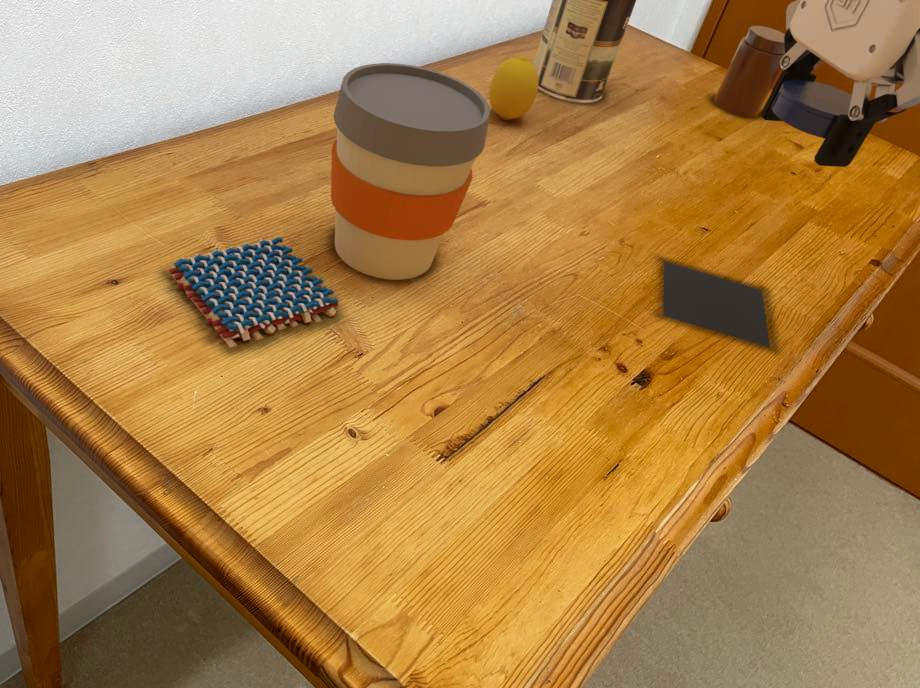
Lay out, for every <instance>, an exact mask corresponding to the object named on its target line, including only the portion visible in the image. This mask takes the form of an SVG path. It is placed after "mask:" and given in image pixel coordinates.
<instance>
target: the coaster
mask: <svg viewBox="0 0 920 688" xmlns="http://www.w3.org/2000/svg"><path fill="white" fill-rule="evenodd" d="M662 306H663V307H662V315H663V317H666V318H669V319H673V320H674V321H675V320H676V321H679V322H682V323H685V324H688V325H693V326H695V327H699V328H702V329H705V330H708V331H712V332H715V333H719V334H721V335H725V336H729V337H732V338H736V339H739V340H742V341H745V342H748V343H752V344H754V345H755V344H756V345H759V346H762V347H765V348H768V349H769V348H770V349H771V344H770V337H769V330H768V322H767V316H766V309H765V308H766V307H765V303H764V293H763V290H762V289H760V288H756V287H753V286H750V285H746V284H744V283H740V282H737V281H733V280H730V279H727V278H723V277H720V276H716V275H713V274H710V273H706V272H702V271H699V270H696V269H692V268H690V267H686V266H682V265H679V264H675V263H672V262H669V261H666V260H665V261H663V304H662Z"/></svg>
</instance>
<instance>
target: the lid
mask: <svg viewBox="0 0 920 688" xmlns="http://www.w3.org/2000/svg"><path fill="white" fill-rule="evenodd" d="M851 96H852V94H850V93H848V92H846V91H844V90H842V89H840V88H837V87H835V86H831V85H829V84H826V83H823V82H819V81H816V80H815V81H810V80H803V79H791V80H787V81H785V82H784V83H783V84H782V86H781V88H780V90H779V92H778V94H777V96H776V98H775V100H774V102H773V104H772V106H771V108H772V111H773V113H774V114H775V115H776V116H777V117H778V118H779V119H781V120H782V121H781V122H784V123H785V124H786V125H788V126H790V127H792V128H794V129H796V130H798V131H801V132H803V133H805V134H808V135H811V136H814V137H817V138H822V139H825V138H826V136H827V134H828V133H829V131H830V129H831V127H832V126H833V124H834V122H835V120H836V119H837V117H838V116H839V115H840V114H844V115H848V111H849V106H850V101H851Z"/></svg>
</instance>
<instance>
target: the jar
mask: <svg viewBox="0 0 920 688" xmlns="http://www.w3.org/2000/svg"><path fill="white" fill-rule="evenodd" d="M747 30H748V32H747V33H746V36H743V37H742V38H741V39H740V41H739V44H738V46H737V48H736V50H735V53H734V55H733V57H732V59H731V61H730V64H729V66H728V67H727V70H726V72H725V75H724V76H723V78H722V81H721V83H720V86H719V87H718V89H717V92H716V94H715V96H714V98H713V103H714V104H715V106H717V107H718V108H720V109H721V110H722V111H725V112H726V113H729V114H731V115H735V116H738V117H741V118H750V119H751V118H756V117H757V116H759V114H760V113H761V111H762V109H763V107H764V106H763V105H765V103H766V101H767V99H768V97H769V95H770V93H771V91H772V88H773V87H774V85H775V83H776V81H777V79H778V77H779V75H780V74H779V73H781V70H782V69H781V67H780V61H781V59H782V57H783V56H784V55H785V47H784V36H785V34H786V33H784V32H782V31H781V30H780V31H779V30H778V29H775V28H771V27H768V26H763V25H752V26H750V27H748V29H747Z"/></svg>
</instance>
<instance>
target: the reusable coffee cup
mask: <svg viewBox="0 0 920 688" xmlns="http://www.w3.org/2000/svg"><path fill="white" fill-rule="evenodd" d="M339 88H340V89H339V92H338V97H337V101H336V104H335V108H334V113H333V120H334V124H335V126H336V139H335V140H334V142H333V143H332V147H331V163H330V164H331V167H330V168H331V169H330V171H331V172H330V199H331V204H332V206H333V208H334V209H335V210H334V211H335V212H334V213H335V215H334V249H335V251H336V253H337V255H338V256H339V258H340V259H341V260H342V261H343V262H344V263H345V264H346V265H348V266H349V267H351V268H352V269H354V270H356V271H357V272H359V273H362V274H364V275H367V276H370V277H374V278H378V279H384V280H391V281H394V280H395V281H398V280H399V281H400V280H401V281H403V280H409V279H413V278H416V277H419V276H422V275H423V274H424V273H426V272H427V271H428V270H429V269H430V268H431V266H432V263H433V262H434V258H435V256H436V254H437V252H438V249H439V246H440V245H441V241H442V240H443V238H444V234H445V233H447V232H448V231H449V230H451V228H452V227H453V225H454V223H455V221H456V218H457V216H458V214H459V211H460V209H461V206H462V204H463V202H464V200H465V197H466V195H467V192H468V191H469V188H470V185H471V183H472V181H473V170H472V168H473V166H474V163H475V160H476V158H478V157H479V156H480V155H481V154H482V153H483V151H484V149H485V147H486V140H487V135H488V128H489V122H490V116H491V109H490V105H489V103H488V101H487V99H485V97H484V96H483V95H482V94H481V93H480V92H478V91H477V90H476V89H475V88H473V86H470V85H469V84H467V83H465V82H464V81H462V80H460V79H458V78H456V77H454V76H451V75H448V74H446V73H443V72H440V71H437V70H433V69H430V68H426V67H421V66H416V65H411V64H403V63H391V62H390V63H389V62H382V63H370V64H364V65H360V66H357V67H355V68H352V69H351V70H350V71H348V72H347V73H346V74H344V76H343V77H342V81H341V84H340V87H339Z"/></svg>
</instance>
